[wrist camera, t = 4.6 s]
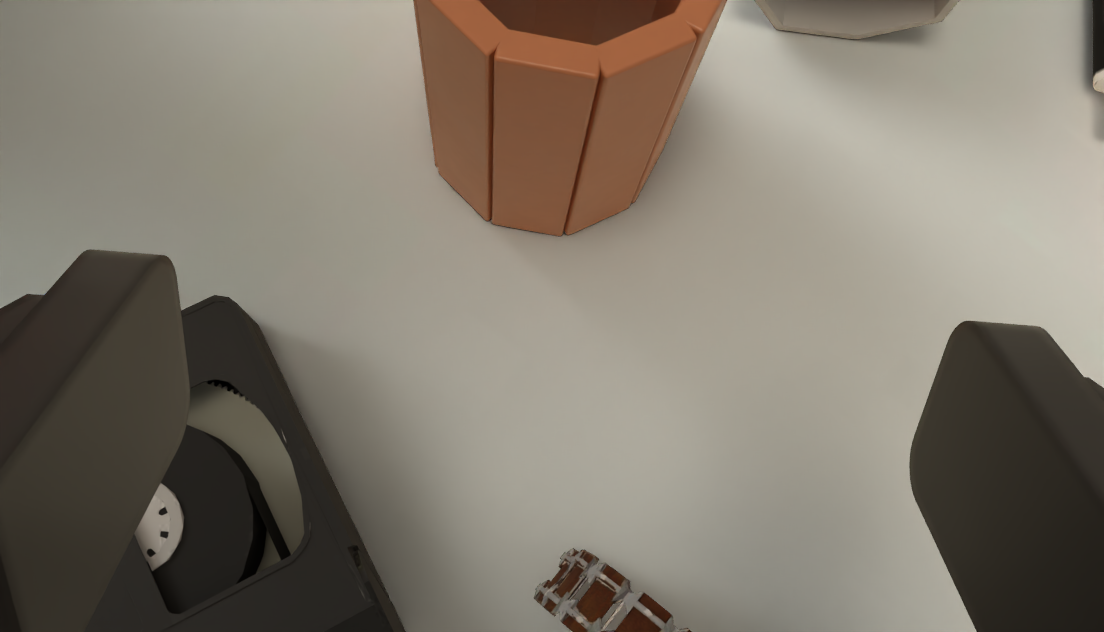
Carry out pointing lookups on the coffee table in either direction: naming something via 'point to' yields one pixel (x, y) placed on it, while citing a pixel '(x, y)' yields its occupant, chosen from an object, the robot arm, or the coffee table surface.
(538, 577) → the coffee table surface
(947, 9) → the tube
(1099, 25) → the pen
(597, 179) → the sleeve
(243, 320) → the vhs tape
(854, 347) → the coffee table surface
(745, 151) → the coffee table surface
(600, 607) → the wristwatch
